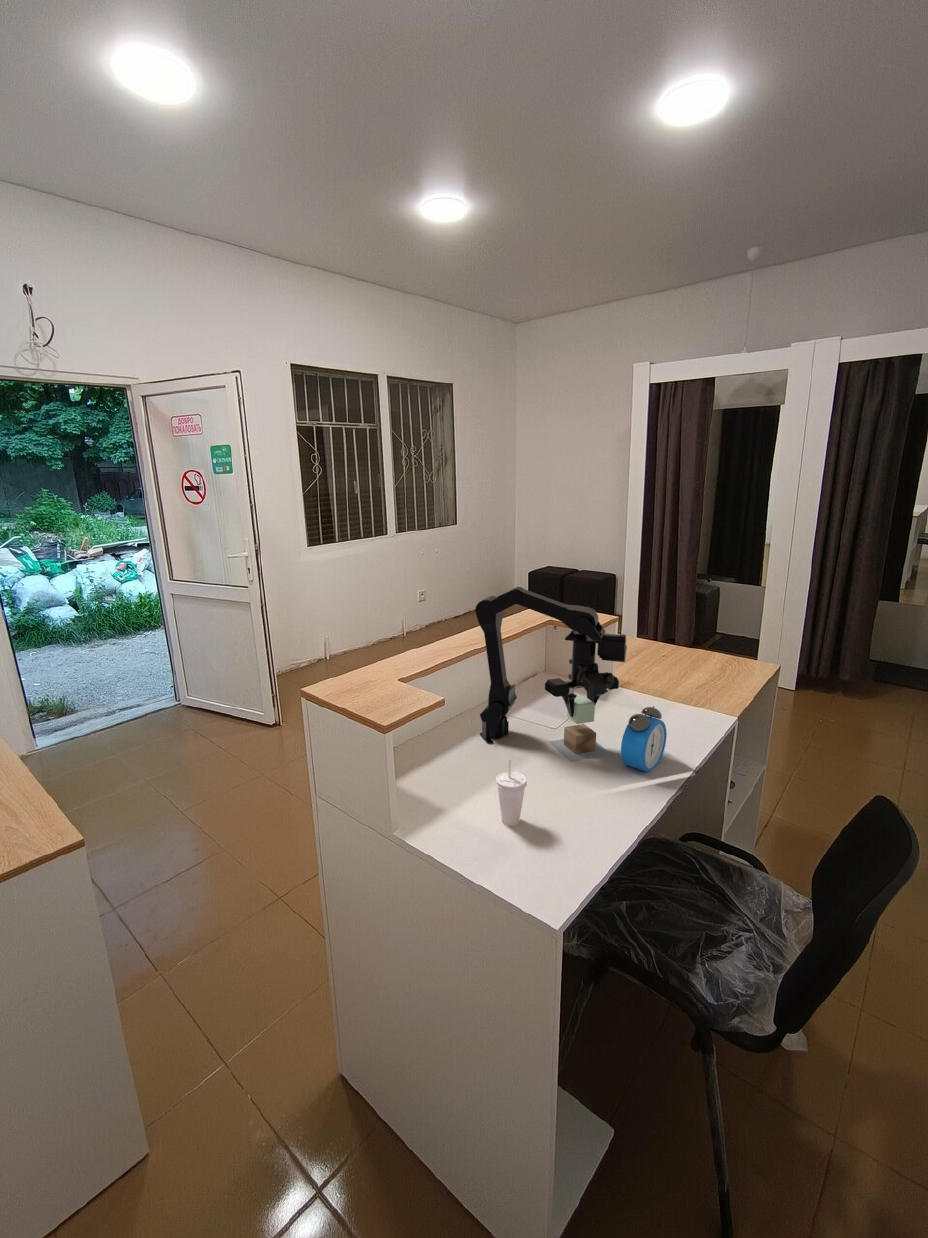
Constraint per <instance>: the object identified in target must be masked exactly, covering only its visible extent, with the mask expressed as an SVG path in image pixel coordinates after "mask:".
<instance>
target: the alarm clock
mask: <svg viewBox="0 0 928 1238" xmlns="http://www.w3.org/2000/svg"><path fill="white" fill-rule="evenodd" d="M662 717H663V715H662V713H661V711H660V710H659V709H658V708H656V707H655V706H646V707H643V709H642V710H641V712H640V713H636V714H633V715H632V716H630V717H629V719H628V722H627V723H628V724H627V725H626V727H625V730H624V732H623V735H622V740H621V745H620V756H621V760H622V763H623V764H624V765H625V766H628V767H630V768H633V769H637V770H639V771H641V772H644V773H649V772H651V771H652V770H654V769H655V768H656V767H657V766H658V765H659V764H660V762H661V760H662V757H663V755H664V752H665V750H666V749H665V748H666V744H667V735H668V734H667V733H668V732H667V727H666V724H665V722H664V721H663V720H662Z"/></svg>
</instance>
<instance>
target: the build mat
mask: <svg viewBox="0 0 928 1238" xmlns="http://www.w3.org/2000/svg"><path fill="white" fill-rule="evenodd" d="M548 743H550V745H552V746H553V748H555V749H556V750H557V751H558V752H559V753H560V754H561V755H563V756H564V757H565V758H566V759H567V760H568V761H570V762H576V761H581V760H582V761H583V760H586V759H587V760H589V759H593V758H598V757H604V756H610V755H612V752H610V751H609V750H608V749H606V748H605V747H604V746H602V745H601V744H599V743H598V742H597V741H596V749H595V751H591V752H585V753H580V754H574V753H573V752H572V751H571V750H569V749H568V748H567V747H566V746H565V745H564V738H560V739H555V740H549V741H548Z"/></svg>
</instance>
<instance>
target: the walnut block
mask: <svg viewBox="0 0 928 1238" xmlns="http://www.w3.org/2000/svg"><path fill="white" fill-rule="evenodd" d="M563 730H564V731H563V739H564V745H565V746H566V747H567V748H568V749H569V750H571V751H572V752H573V753H574V754H580V753H585V752H591V751H595V749H596V742H597V732H596V731H595V730H593V729H592V728H590V727H589V726H587V724H586V723H581V724H575V725H574V724H573V725H569V726H564V728H563Z"/></svg>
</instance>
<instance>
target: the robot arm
mask: <svg viewBox="0 0 928 1238" xmlns="http://www.w3.org/2000/svg"><path fill="white" fill-rule="evenodd" d="M515 605H517V606H520V607H524V608H526V609H529V610H531V611H533V612H536V613H539V614H542V615H545V616H547V617H550V618H553V619H556V620H558V621H559V622H561V623H562V624H564V625H565V626H566V627H567V628H569V629H570V630H571V631H570V632H569V633H567V635H566V636H565V637H564V640H565V641H568V642H569V641H571V642H572V654H571V655H572V656H571V658H570V659H569V664H570V665H571V671H570V672H571V674H568V679H569V680H570V681H565V680H563V679H562V678H560V677H559V678H558V677H557V678H549V679H547V680H546V681H545V683H544V690H545V691H546V692H548V693H549V694H550V695H552V696H553V697H556V698H558V697H562V700H563V701H564V704H565V707H566V709H567V710H568V712H569V715H570V716H571V717H573V715H574V699H575V698H577V697H578V695H577V694H575V693H574V692H575V689H581V688H583V689H584V690H585V691H586V698H588V699H589V700H591V701H592V702H594V703H595V706H596V705H597V703H598V701H599V699H600V697H601V696H603V695H605V693H606V694H607V693H608V690H611V691H612V690H618V689H619V688H620V680H619V678H618V677H617V676H615V675H613V673H612V672H599V665H598V663H597V662H596V656H598V657H599V659H601V661H607V662H617V663H625V662H626V659H627V651H628V649H627V648H628V646H627V634H621V633H620V634H613V633H606V629H604V627H603V626H602V624H601V623H600V621H599V615H598V613H597V611H596V610H595V609H594V608H591V607H589V606H583V605H579V604H578V605H577V604H574V605H573V604H568V603H567V604H566V603H563V602H560V601H557V600H555V599H552V598H549V597H546V596H544V595H541V594H538V593H535V592H533V591H530V590H528V589H525V588H523V587H522V586H516V587H513V588H512V589H511V590H508V591H506V592H504V593H502V594H500V595H499V596H496V595H495V596H494V595H490V596H487V597H485V598H484V599H482V600H481V601H478V603H477V604H476V605H475V609H474V610H475V616H476V618H477V623H478V625H479V626H480V628H481V630H482V632H483V635H484V643H485V650H486V655H487V656H486V657H487V664H488V665H487V667H488V670H489V671H488V672H489V678H490V679H489V680H490V686H489V691H488V701H487V706H486V707H485V708H484V709H483V710H482V711H481V712H480V714H479V717H480V719H481V732H480V733H479V735H480V737H481V738H482V739H483V740H484V741H485V742H486V743H487V744H488V745H489V744H495V742H494V741H493V740H500V739H502V738H504V737H505V736H509V731H510V730H509V728H510V727H509V726H510V725H509V721H508V716H506V715H507V714H508V713H509V712H510V710H511V709H512V708H513V706H514V705H515V703H516V700H517V698H518V697H517V695H516V684H510V682H509V680H508V678H507V677H508V676H507V669H506V661H505V655H504V654H505V653H504V646H503V639H502V637H503V636H502V632H501V631H502V624H503V618H504V610H506V609H508V608H510V607H513V606H515ZM596 647H597V648H596ZM596 649H597V653H596ZM596 654H597V655H596Z"/></svg>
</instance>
